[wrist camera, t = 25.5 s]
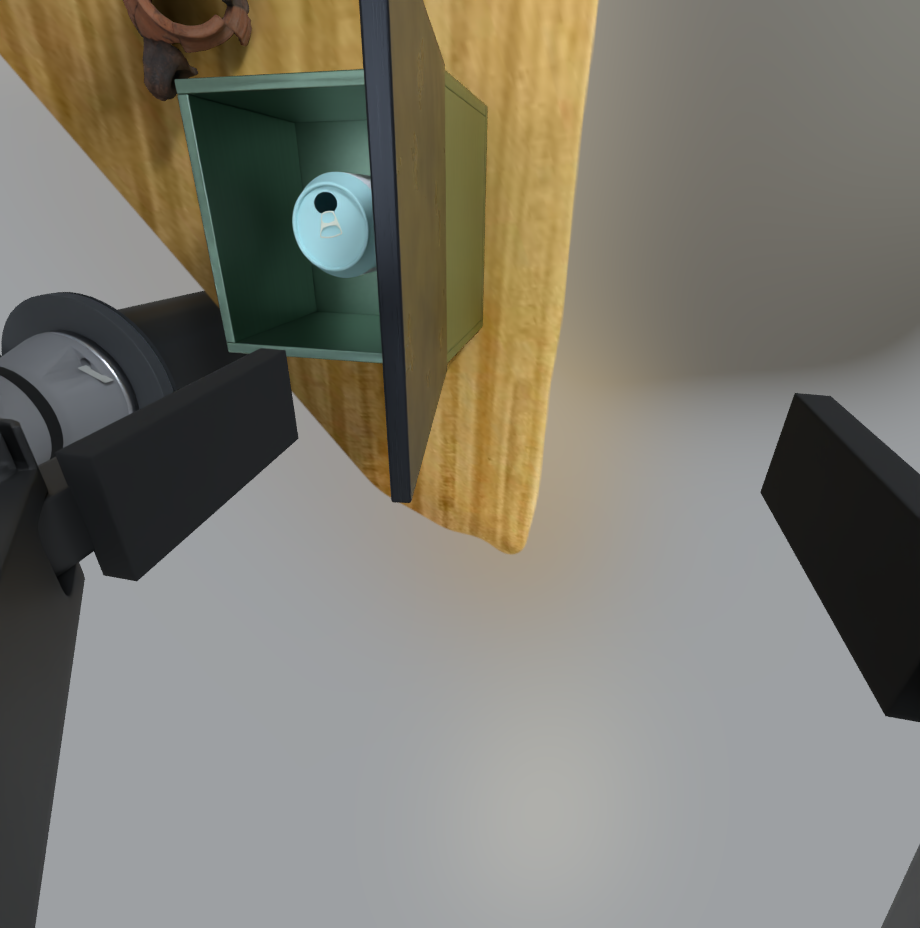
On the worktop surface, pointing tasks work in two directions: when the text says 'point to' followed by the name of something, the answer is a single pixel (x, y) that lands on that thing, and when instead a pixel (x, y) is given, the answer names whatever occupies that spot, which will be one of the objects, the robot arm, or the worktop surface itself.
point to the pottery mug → (181, 41)
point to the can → (337, 224)
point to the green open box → (277, 189)
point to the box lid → (407, 221)
